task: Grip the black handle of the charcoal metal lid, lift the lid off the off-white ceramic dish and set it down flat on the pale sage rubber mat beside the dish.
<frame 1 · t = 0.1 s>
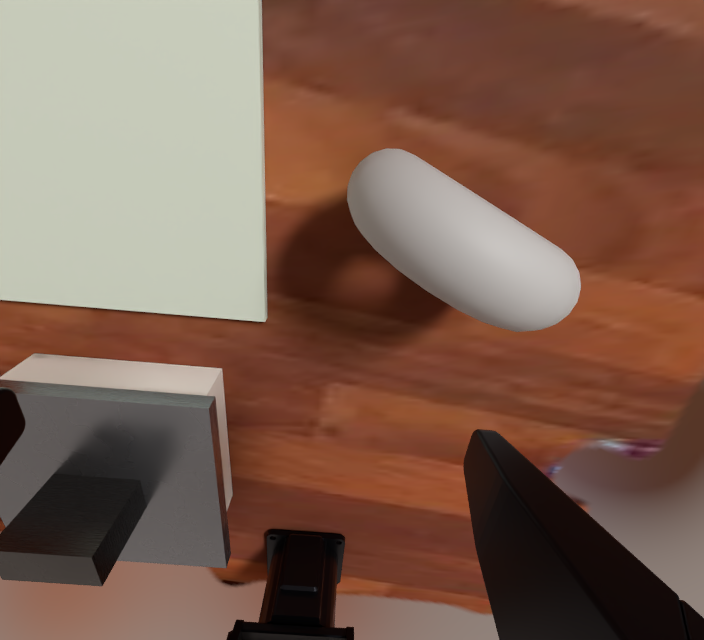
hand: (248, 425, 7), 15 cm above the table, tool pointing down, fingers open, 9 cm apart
lid: (111, 477, 24), point 4 cm above the table, touching dish
donut: (436, 212, 20), on the table
dish: (143, 431, 27), on the table
mat: (105, 162, 19), on the table
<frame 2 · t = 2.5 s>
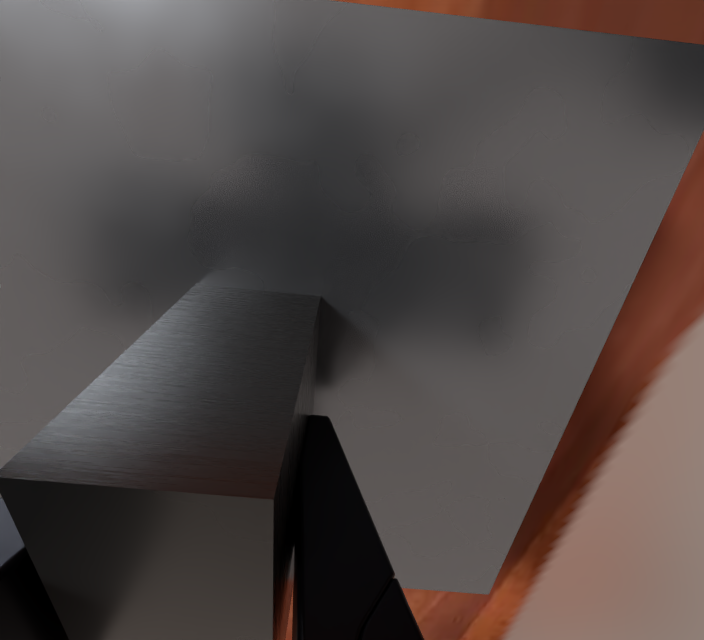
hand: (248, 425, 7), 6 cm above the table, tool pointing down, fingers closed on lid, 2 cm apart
lid: (269, 368, 9), point 4 cm above the table, touching dish, gripper
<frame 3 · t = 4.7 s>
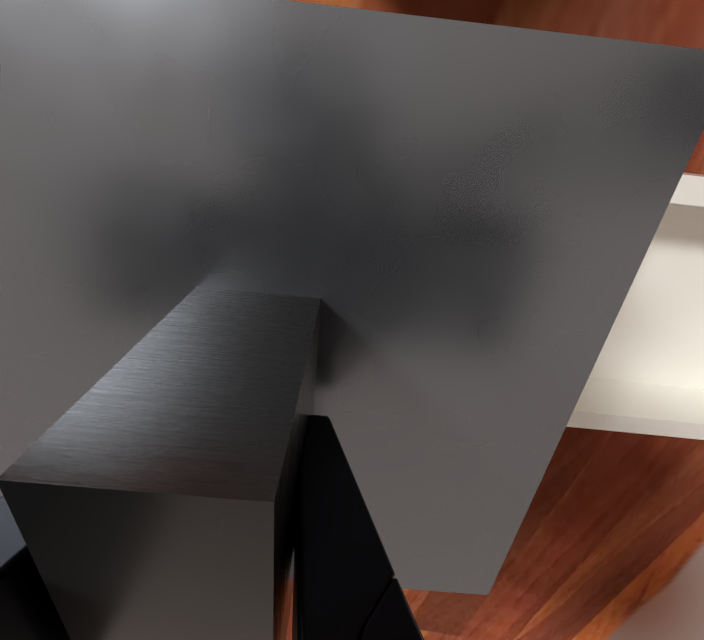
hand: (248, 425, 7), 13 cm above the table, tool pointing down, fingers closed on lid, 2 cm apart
lid: (270, 370, 9), point 11 cm above the table, touching gripper
dish: (653, 295, 20), on the table
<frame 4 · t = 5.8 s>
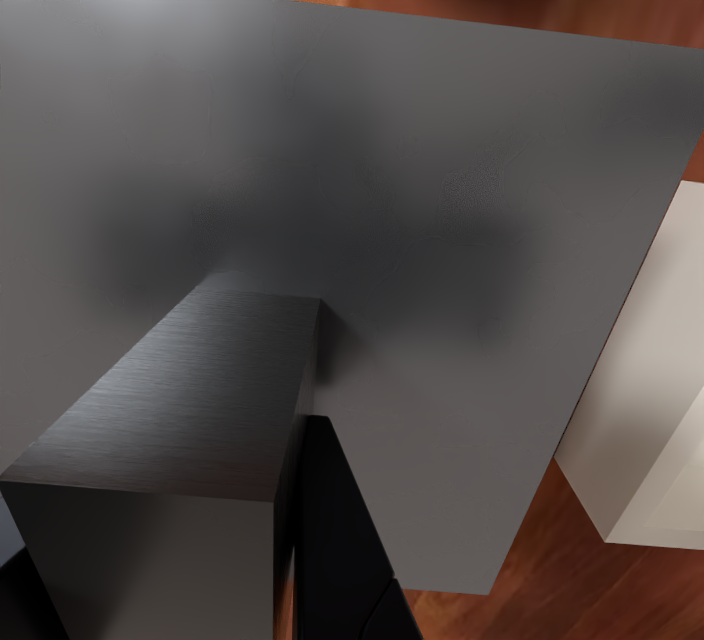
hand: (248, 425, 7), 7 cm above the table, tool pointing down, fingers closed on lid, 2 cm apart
lid: (269, 370, 9), point 5 cm above the table, touching gripper
when the fingers open (4 cm above the table, at t = 6.9 s): lid drops 2 cm, resting on mat.
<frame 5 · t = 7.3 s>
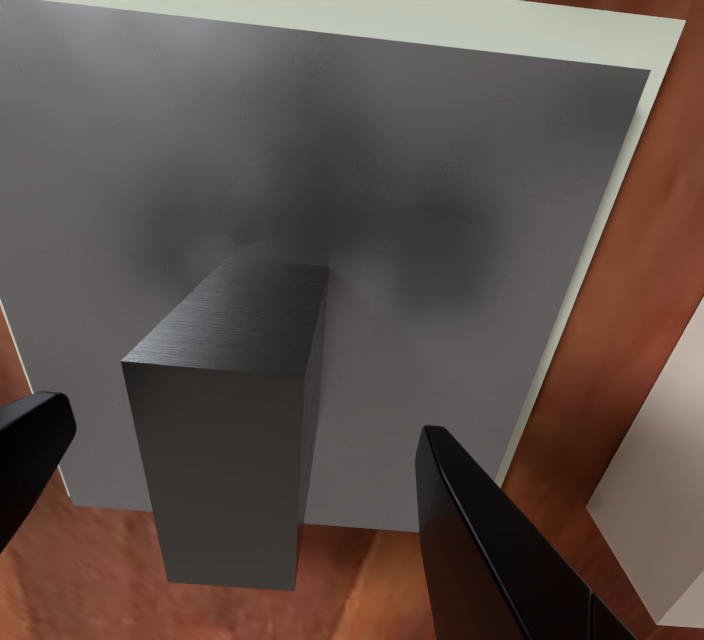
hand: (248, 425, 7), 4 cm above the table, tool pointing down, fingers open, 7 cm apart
lid: (284, 333, 11), point 1 cm above the table, touching mat
mat: (285, 322, 12), on the table
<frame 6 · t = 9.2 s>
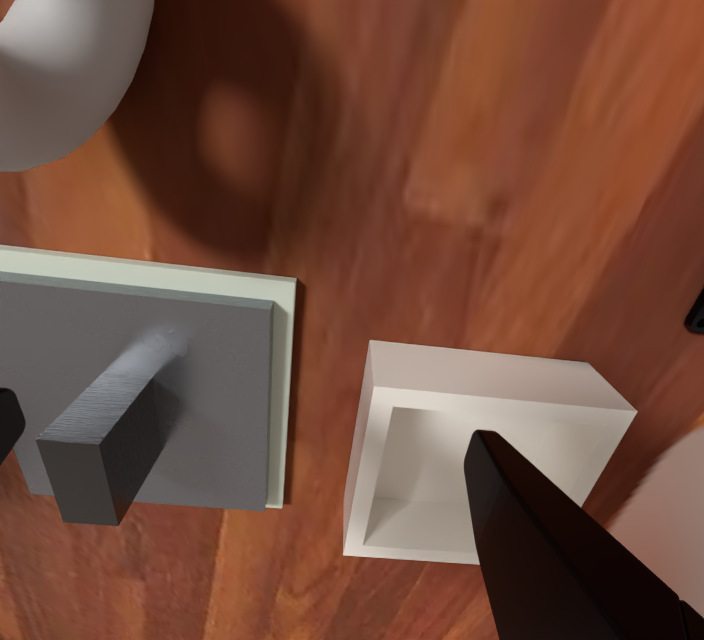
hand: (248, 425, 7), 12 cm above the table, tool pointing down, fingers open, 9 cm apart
lid: (143, 402, 21), point 1 cm above the table, touching mat
donut: (122, 28, 14), on the table
dish: (453, 435, 23), on the table
mat: (147, 394, 21), on the table
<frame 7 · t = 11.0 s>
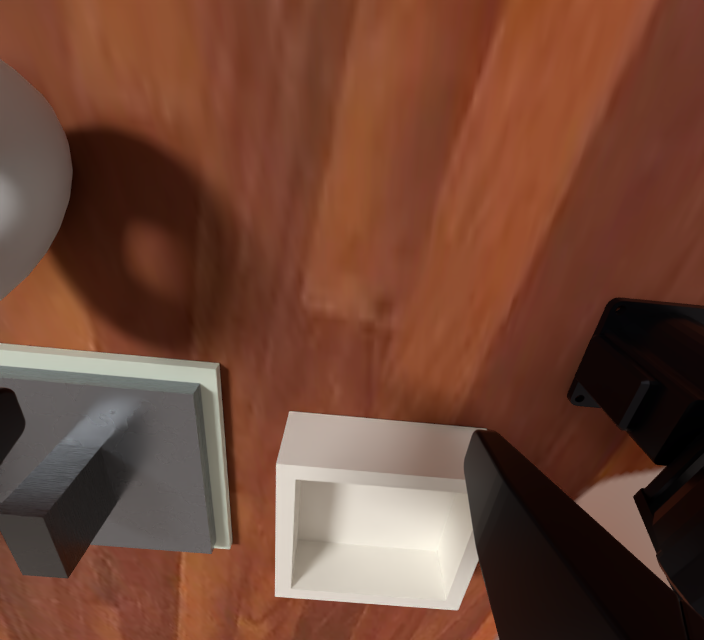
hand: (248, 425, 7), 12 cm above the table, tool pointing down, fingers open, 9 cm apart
lid: (98, 462, 24), point 1 cm above the table, touching mat
donut: (54, 180, 17), on the table
dish: (376, 488, 26), on the table
mat: (103, 454, 25), on the table
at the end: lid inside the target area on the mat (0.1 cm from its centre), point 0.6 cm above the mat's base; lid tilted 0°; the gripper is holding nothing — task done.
